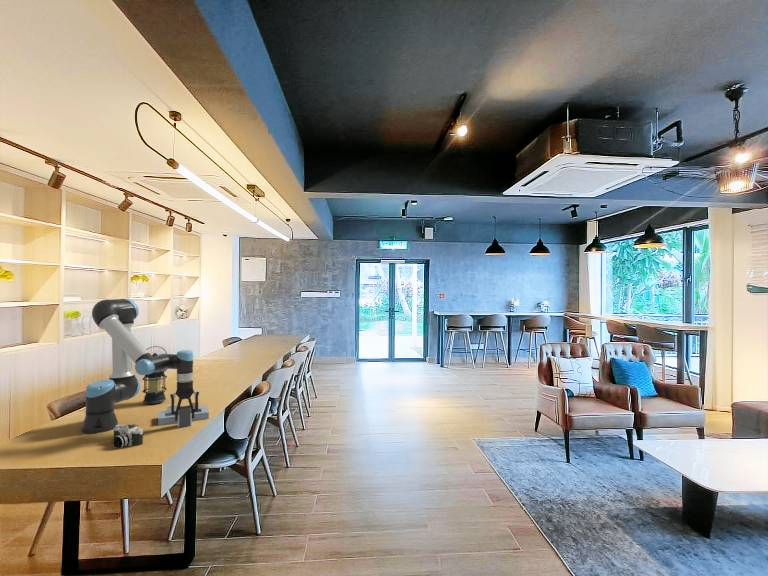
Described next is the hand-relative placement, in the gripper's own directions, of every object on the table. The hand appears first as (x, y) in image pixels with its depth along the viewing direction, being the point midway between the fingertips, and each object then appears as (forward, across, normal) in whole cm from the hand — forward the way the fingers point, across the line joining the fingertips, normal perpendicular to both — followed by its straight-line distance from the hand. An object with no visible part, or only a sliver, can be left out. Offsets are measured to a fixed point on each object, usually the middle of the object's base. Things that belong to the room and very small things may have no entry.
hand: (184, 425), depth 208 cm
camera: (+1, -25, -16) cm, 30 cm away
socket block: (0, 0, +13) cm, 13 cm away
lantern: (0, -14, +55) cm, 57 cm away
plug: (0, 0, 0) cm, 0 cm away
